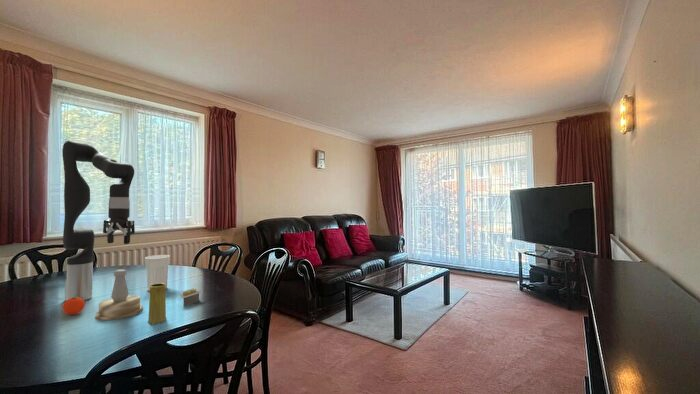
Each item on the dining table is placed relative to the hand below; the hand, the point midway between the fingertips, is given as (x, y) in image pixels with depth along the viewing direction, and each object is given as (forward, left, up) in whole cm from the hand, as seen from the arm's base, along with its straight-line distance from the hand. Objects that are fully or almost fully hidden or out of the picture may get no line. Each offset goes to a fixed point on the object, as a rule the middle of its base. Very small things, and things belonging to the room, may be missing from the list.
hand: (118, 243), depth 134 cm
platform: (+28, +10, -29) cm, 42 cm away
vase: (+30, -10, -28) cm, 42 cm away
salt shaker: (+8, -6, -23) cm, 25 cm away
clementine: (-9, -11, -28) cm, 32 cm away
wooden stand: (+8, -6, -28) cm, 30 cm away
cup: (-3, +25, -28) cm, 38 cm away
